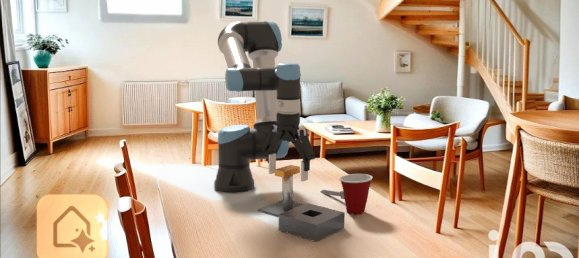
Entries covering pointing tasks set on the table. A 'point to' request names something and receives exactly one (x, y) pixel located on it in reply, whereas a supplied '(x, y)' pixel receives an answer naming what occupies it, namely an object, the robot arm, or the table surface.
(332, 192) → the caliper
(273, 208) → the key mat
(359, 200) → the plastic cup
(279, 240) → the table surface
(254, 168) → the table surface
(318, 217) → the block
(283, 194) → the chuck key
